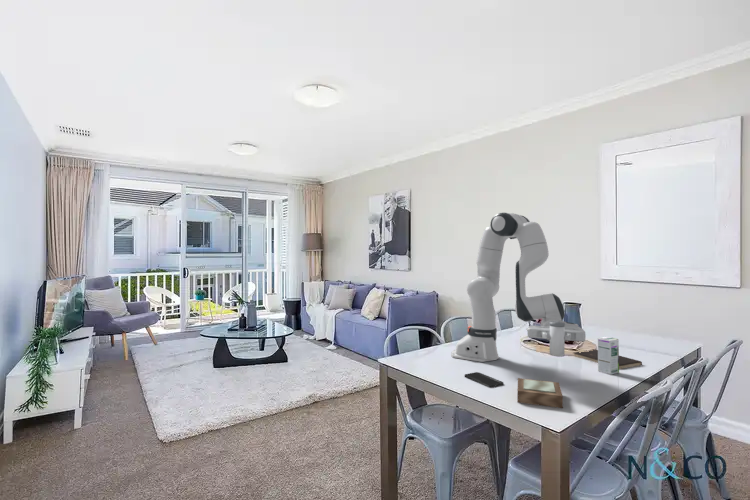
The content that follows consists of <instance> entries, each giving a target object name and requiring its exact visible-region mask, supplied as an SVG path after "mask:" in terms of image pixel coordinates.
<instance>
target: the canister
mask: <svg viewBox="0 0 750 500" xmlns="http://www.w3.org/2000/svg"><path fill="white" fill-rule="evenodd" d="M564 322H565V321H564ZM564 322H560V321H550V322H549V325H550V341H549V355H550V356H552V357H557V358H558V357H559V358H562V357H565V346H566V345H565V342H566V341H565V340H564V339H565V323H564Z"/></svg>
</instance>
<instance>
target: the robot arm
mask: <svg viewBox="0 0 750 500" xmlns="http://www.w3.org/2000/svg"><path fill="white" fill-rule="evenodd" d="M508 239H510V240H514V239H516V240H517V241H518V243H519V249H520V257H519V260H517V261H516V262H515V305H514V306H515V308H514V309H515V314H516V316H517V318H518V319H519V320H521V321H523V322H525V323H526V322H532V321H535V320H541V322H540V325H529V326H528V327H526V329H525V330H526V332H527V338H530V339H531V338H533V339H545V340H547V341H549V342H550V325H549V322H550V321H560V322H564V323H565V339H564V340H565V342H566V341H568V342H569V341H571V342H572V341H573V342H585V341H586V331H585V330H584V328H582V327H580V326H579V324H578V323H574V322H567V321H564V320H563V319H564V318H565V308H564V304H563V302H562V300H561V299H560V297H559V296H558V295H556V294H555V293H546V294H541V295H534V296H527V295H526V294H527V293H526V278H527V276H528V274H530V273H532V271H535V270H536V269H538V268H540V267H541V266H542V265H544V264H545V262H547V260H548V259H549V247H548V244H547V242H548V241H547V239H546V236H545V233H544V231H543V229H542V227H541V225H540V224H539V223H537V222H535V221H530V219H528V217H526V216H524V215H521V214H517V213H513V212H512V213H508V212H499V213H496V214H495V215H493V217H492V218H491V221H490V225H489V226H486V228H485V229H483V233H482V236H481V239H480V243H479V247H478V252H477V258H476V265H477V276H476V277H475V278H473V279H471V280H470V281H469V283H468V284H467V287H466V292H467V294H468V296H469V302H470V307H471V308H470V309H471V325H468V326H467V334H466V335H464V336H463V337H461V339H459V340H458V342H457V343H456V345H455V349H453V350H452V351H451V353H450V356H451V357H452V358H453V359H455V358H456V359H461V360H467V361H473V362H480V363H484V362H489V361H491V362H492V361H496V360H499V359H500V356H499V353H498V347H497V335H498V331H497V327H496V310H495V306H494V302H493V301H494V300H493V297H495V296H497V294H498V292H499V290H500V274H501V273H500V272H501V269H500V268H501V263H502V257H503V252H504V247H505V243H506V241H507V240H508Z"/></svg>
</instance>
